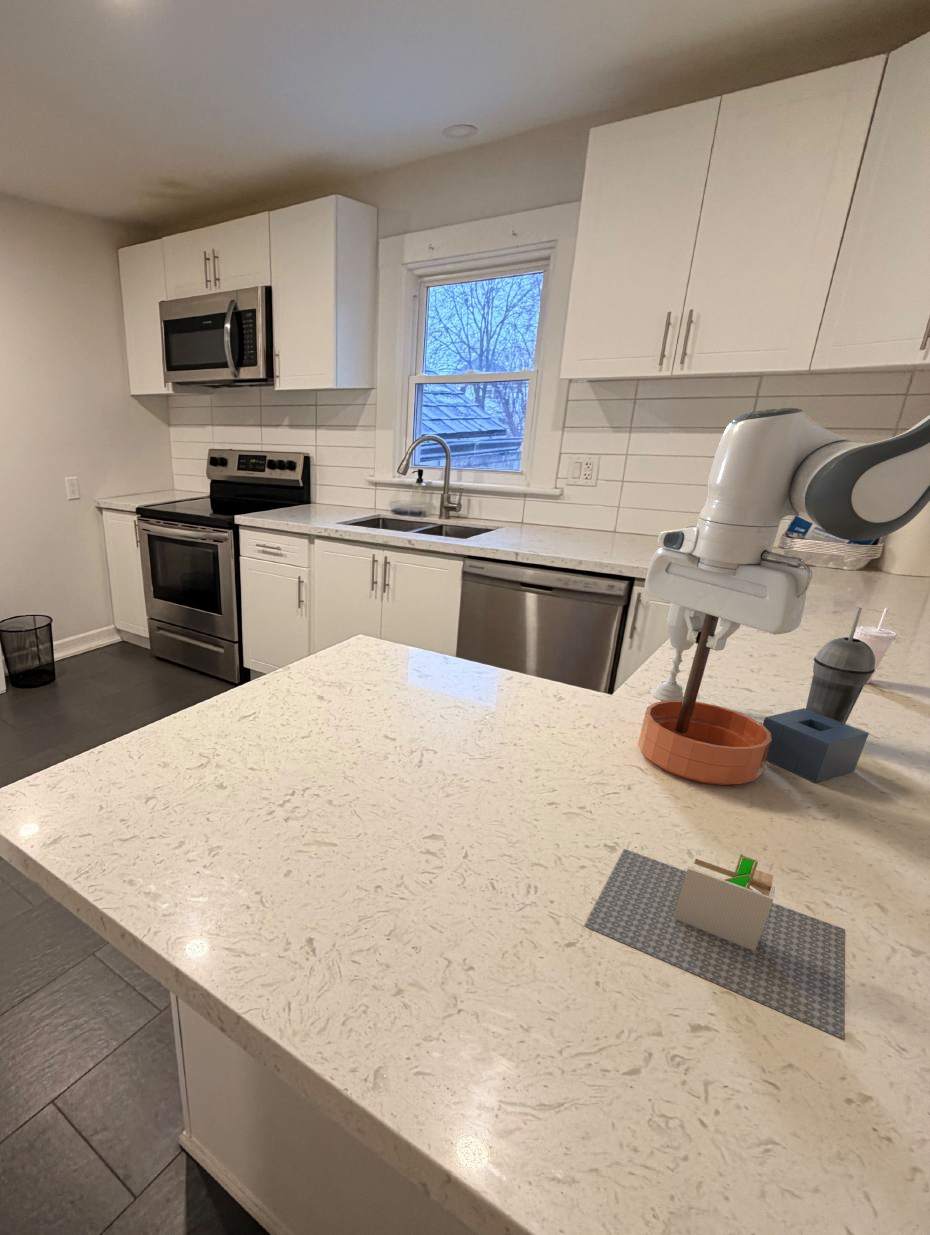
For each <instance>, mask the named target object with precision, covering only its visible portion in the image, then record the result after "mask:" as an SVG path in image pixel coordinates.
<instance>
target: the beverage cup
mask: <svg viewBox="0 0 930 1235" xmlns="http://www.w3.org/2000/svg"><path fill="white" fill-rule="evenodd" d="M862 609H863V608H862V607H857V609H856V612H855V615H854V619H853V622H852V626H851V629H850V633H849V635H848V636H846V637H845V636H844V637H838V638H834V639H832V640H829V641H828V642H826V644H824V645H823V646H821V647H820V649H818V652H817V653H816V656H815V657H814V658H813V666H812V667H813V668H812V674H813V675H812V679H811V683H810V688H809V693H808V697H807V701H806V706H805V709H807V710H810V711H813V712H815V713H818V714H820V715H823V716H825V717H828V718H831V719H833V720H836V721H838V722H841V723H844V724H846V723H847V721H848V719H849V717H850V715H851V713H852V711H853V709H854V707H855V705H856V703H857V701H858V699H859V697H860V695H861V693H862V691H863V689H864V687H865V686H866V684H868V683H867V681H868V680H869V678H870V677H871V675H872V673H873V672H874V671H875V669H874V667H875V656H874V653H873V651H872V650H871V648H870V647H869V646H868V645H867V644H866V643H865V642H863V641H861V640H859V639H855V638H853V637H854V633H855V630H856V627H857V626H858V622H859V620H860V617H861V613H862V611H863V610H862ZM875 672H876V671H875Z"/></svg>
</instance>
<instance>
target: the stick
mask: <svg viewBox="0 0 930 1235" xmlns="http://www.w3.org/2000/svg"><path fill="white" fill-rule="evenodd" d="M719 620H720V618H719V617H716V616H712V615H709V614H706V615H705V619H704V623H703V626H702V630H701V634H700V637H699V641H698V644H697V645H696V649H695V653H694V656H693V659H692V664H691V667H690V671H689V674H688V679H687V683H686V687H685V689H684V692H683V701H682V705H681V708H680V712H679V716H678V720H677V723H676V727H675V731H677V732H679V733H687V732H688V728H689V724H690V721H691V717H692V714H693V710H694V706H695V703H696V702H697V698H698V695H699V692H700V688H701V684H702V681H703V677H704V673H705V670H706V666H707V663H708V659H709V655H710V652H711V649H710V648H707V647H706V643H707V642H708V641H707V639H708V636H709V635H715V634H716V630H717V627H718V623H719Z"/></svg>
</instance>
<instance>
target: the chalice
mask: <svg viewBox="0 0 930 1235" xmlns="http://www.w3.org/2000/svg"><path fill="white" fill-rule="evenodd" d="M685 610H686V607H683V606H680V605H677V604H673V603H670V606H669V611H668V614H667V619H666V628H667V634H668V638H669V641H670V645H671V647H672V648H673V649H675V655H674V657H673V658H671V661H672V666H671V667H670V668H669V669H668V671H669V674H670V675H669V678H668V679H666V680H665V681H661V682H659V683H658V686H657V687H656V688H655V690H653V691H652V692H651V695H652V696H653V697H654V698H655V699H658V700H660V701H669V700H683V697H684V692H683V687H682V686H681V684H680V683H678V681H677V676H678V674H680V673H681V670H680V665H681V663H682V662H683V659H682V656H683V652H684V651H689V650H690V649H691V648H692V647H693V646H694V645H695V643H693V642H690V641H687V639H686V638H687V634H688V630H689V629H688V626H687V623H686V619H685V616H684V614H685ZM705 615H706V613H704V615H703V616H700V620H701V625H702V626H703V623H704V619H705Z"/></svg>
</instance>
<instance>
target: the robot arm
mask: <svg viewBox="0 0 930 1235" xmlns="http://www.w3.org/2000/svg"><path fill="white" fill-rule="evenodd" d="M929 502H930V414H929V415H927V416H926V417H925V418H923V419H922V420H920V421H919V422H917V423H916V424H915V425H914V426H912V427H911V428H909V429H908V430H905V431H904V432H901V433H900V434H898V435H896V436H893V437H890V438H886V439H883V440H879V441H874V442H868V443H866V442H858V441H853V440H850V439H848V438H847V437H844V436H841V435H839V434H837V433H835V432H832V431H831V430H829V429H827V428H826V427H823V426H822V425H820V424H818V422H816V421H814V420H813V419H812V418H810V417H809V416H808V415H807V414H806V412H805V411H804V410H803V409H801V408H795V407H783V408H776V409H775V408H772V409H763V410H757V411H751V412H748V413H747V412H746V413H743V414H742V415H739V416H737V417H736V418H734V419H733V420H731V421H730V422H729V424H728V425H727V426H726V427H725V430H724V432H723V434H722V436H721V437H720V441H719V443H718V446H717V448H716V451H715V455H714V457H713V462H712V464H711V468H710V473H709V475H708V479H707V497H706V501H705V503H704V506H703V508H702V509H701V511H700V513H699V515H698V519H697V523H696V525H691V526H686V527H684V528H677V529H671V530H670V529H669V530H664V531H661V532H660V533H659V534H658V536H657V546H658V547H659V548H658V549H657V550H656V551H655V552H654V553H653V555H652V557H651V559H650V562H649V565H648V569H647V572H646V576H645V580H644V590H645V592H646V595H647V596H648V597H650V598H653V599H657V600H660V601H664V602H668V603H670V604H671V603H673V604H677V605H680V606H683V607H686V610H685V614H684V616H685V619H686V623H687V626H688V629H689V630H688V634H687V638H686V639H687V641H690V642H693V643H694V644H697V645H698V641H699V637H700V634H701V630H702V625H701V620H700V616H703V615H704V613H706V614H709V615H712V616H716V617H719V619H720V621H719V627H722V628H720V630H719V631H718V632H717V633H715V634H714V635H709V636H708V639H707V641H708V642H707V643H706V647H707V648H710V650H713V651H716V652H719V651H723V650H724V649H725V647H726V644H727V640H728V638H730V637H731V636H732V635H733V634H734V633H735V632H737V630H739V628H741V625H742V626H745V627H749V628H752V629H755V630H759V631H761V632H765V633H769V634H772V635H785V634H789V633H792V632H793V631H795V630H797V629H798V628H799V627H800V625H801V622H802V618H803V614H804V609H805V605H806V599H807V598H806V597H807V591H808V589H809V588H810V584H811V581H812V579H813V571H812V569H811V567H810V566H809V565H808V564H807V563H806V562H805V560H804V559H802V558H801V557H798V556H788V555H785V554H782V553H778V552H773V548H774V544H775V541H776V538H777V534H778V531H779V527H780V525H781V521H782V520H783V519H784V518H785V517H789V516H791V517H793V516H794V517H797V518H800V519H802V520H804V521H806V522H808V523H810V524H813V525H816V526H818V527H819V528H821V529H822V530H824V531H825V532H827V533H828V534H830V535H832V536H834V537H836V538H838V539H841V540H846V541H854V542H855V541H856V542H857V541H858V542H860V541H861V542H862V541H870V540H875V539H880V538H883V537H885V536H889V535H890V534H893V533H895V532H897V531H899V530H900V529H902V528H903V527H905V526H906V525H908V524H909V523H910V522H911V521H913V520H914V519H915V518H916V517H917V516H918V515H919V514H920V513H921V512H922V510H923V509H924V508H925V507H926V506H927V505H928V504H929Z"/></svg>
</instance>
